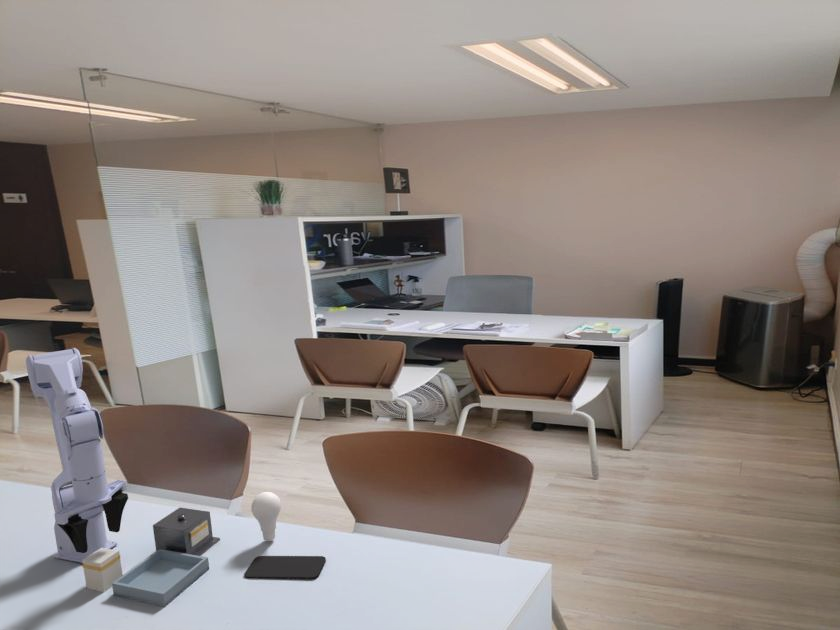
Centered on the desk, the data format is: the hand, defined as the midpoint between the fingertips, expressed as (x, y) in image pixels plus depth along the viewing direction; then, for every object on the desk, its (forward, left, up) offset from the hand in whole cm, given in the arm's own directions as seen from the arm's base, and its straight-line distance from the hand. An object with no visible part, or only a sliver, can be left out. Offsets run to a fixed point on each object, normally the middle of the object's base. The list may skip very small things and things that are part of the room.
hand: (98, 541), depth 118 cm
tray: (+11, +4, -9) cm, 15 cm away
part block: (0, 0, -9) cm, 9 cm away
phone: (+32, +14, -10) cm, 36 cm away
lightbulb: (+23, +22, -9) cm, 33 cm away
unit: (+7, +15, -9) cm, 18 cm away
